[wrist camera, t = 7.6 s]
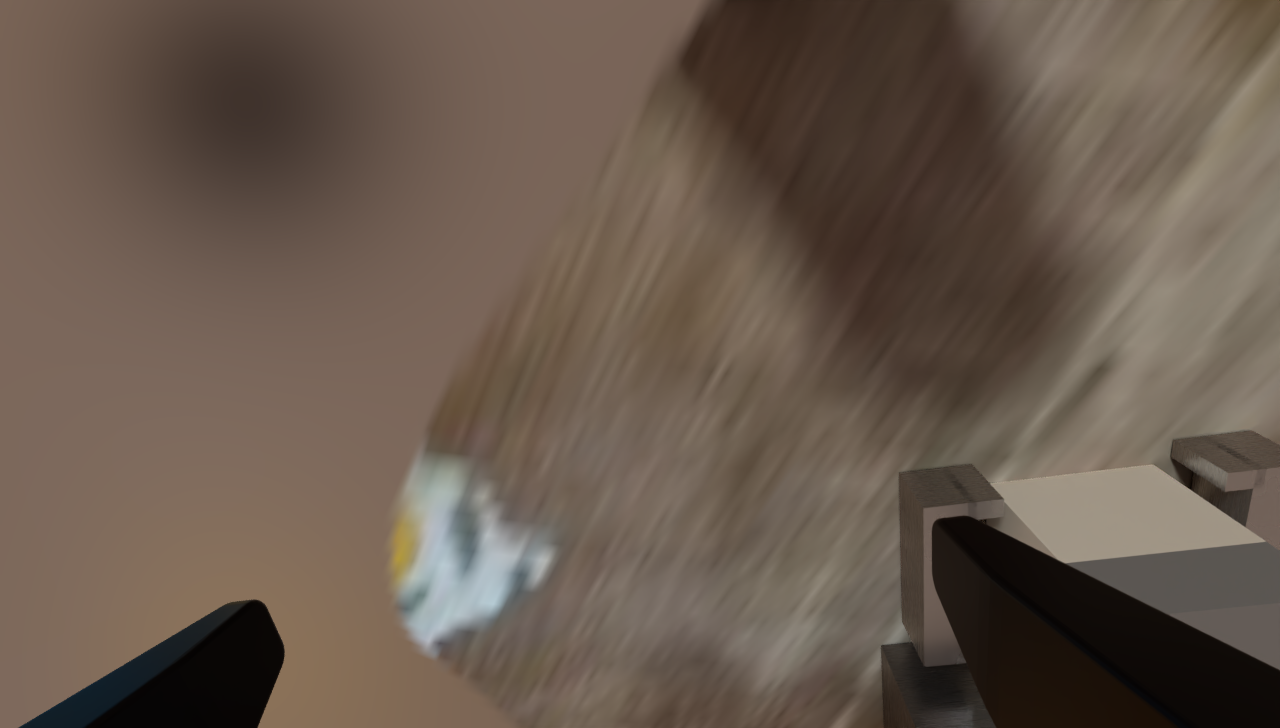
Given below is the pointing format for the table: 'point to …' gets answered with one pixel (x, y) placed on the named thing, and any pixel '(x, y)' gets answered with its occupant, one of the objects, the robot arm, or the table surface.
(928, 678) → the knobbed block assembly
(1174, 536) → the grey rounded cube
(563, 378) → the table surface
